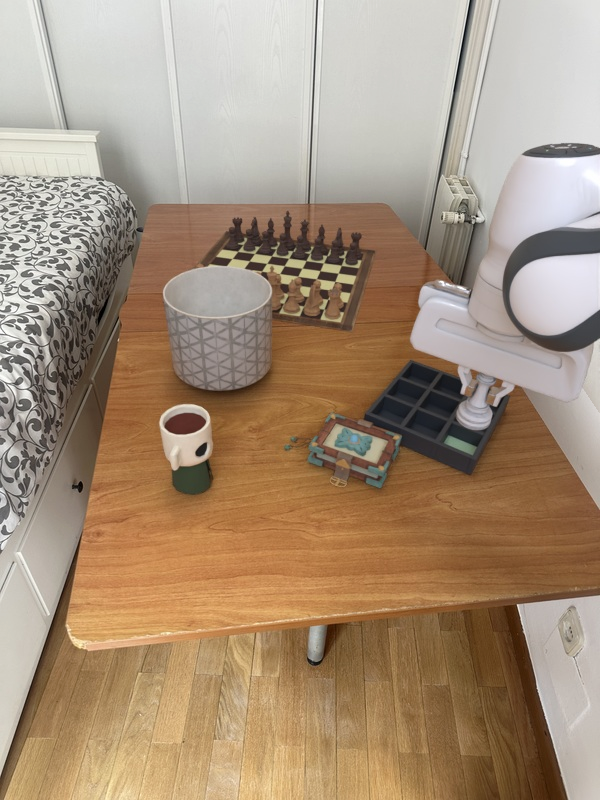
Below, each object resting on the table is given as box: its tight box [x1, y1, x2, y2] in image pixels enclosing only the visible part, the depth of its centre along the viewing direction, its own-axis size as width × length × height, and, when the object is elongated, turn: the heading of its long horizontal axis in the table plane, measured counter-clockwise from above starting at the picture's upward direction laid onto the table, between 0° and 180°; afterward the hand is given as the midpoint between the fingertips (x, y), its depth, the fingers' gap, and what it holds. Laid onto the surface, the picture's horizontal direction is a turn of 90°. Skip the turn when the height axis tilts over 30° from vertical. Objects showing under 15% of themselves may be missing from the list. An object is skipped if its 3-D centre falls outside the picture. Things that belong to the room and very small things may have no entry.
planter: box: [162, 266, 273, 392], centre depth 100 cm, size 19×19×18 cm
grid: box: [363, 359, 511, 476], centre depth 96 cm, size 20×20×4 cm
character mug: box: [158, 403, 214, 496], centre depth 80 cm, size 11×7×13 cm, turn 168°
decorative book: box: [284, 412, 402, 489], centre depth 88 cm, size 13×18×5 cm
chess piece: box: [456, 372, 497, 430], centre depth 67 cm, size 4×4×10 cm
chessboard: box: [162, 210, 377, 333], centre depth 136 cm, size 45×45×10 cm
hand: (479, 398), depth 68 cm, fingers closed on chess piece, 2 cm apart
